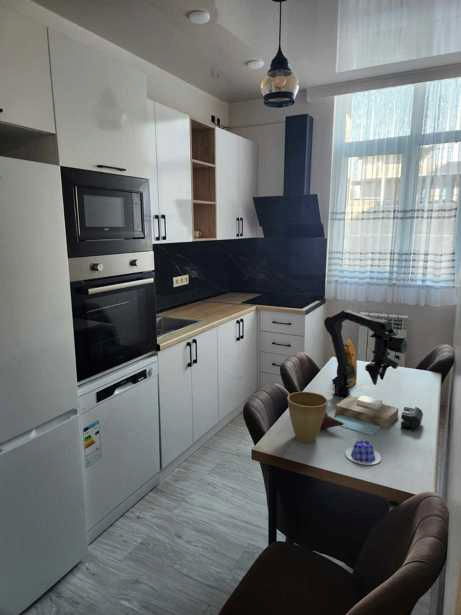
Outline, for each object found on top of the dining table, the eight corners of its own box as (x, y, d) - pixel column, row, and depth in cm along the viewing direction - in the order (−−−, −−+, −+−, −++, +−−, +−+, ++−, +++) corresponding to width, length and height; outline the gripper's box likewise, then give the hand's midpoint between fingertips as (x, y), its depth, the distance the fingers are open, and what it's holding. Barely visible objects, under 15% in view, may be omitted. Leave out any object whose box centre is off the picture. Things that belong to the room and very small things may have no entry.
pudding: (373, 447, 148) (374, 434, 147) (386, 466, 136) (387, 451, 135) (340, 448, 148) (341, 435, 147) (351, 467, 136) (352, 452, 135)
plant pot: (316, 451, 145) (318, 410, 142) (280, 440, 153) (280, 400, 151) (332, 435, 157) (333, 396, 154) (297, 425, 165) (298, 388, 163)
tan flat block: (335, 413, 176) (335, 405, 176) (349, 403, 187) (349, 395, 186) (386, 428, 162) (386, 419, 162) (397, 416, 173) (398, 408, 172)
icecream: (345, 413, 162) (309, 409, 169) (341, 416, 155) (303, 411, 162) (345, 431, 161) (309, 426, 168) (341, 434, 155) (303, 429, 162)
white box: (356, 403, 177) (357, 399, 176) (362, 399, 181) (362, 395, 181) (377, 409, 171) (377, 404, 171) (382, 404, 175) (382, 400, 175)
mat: (329, 422, 168) (329, 422, 168) (339, 415, 175) (339, 414, 175) (372, 436, 156) (372, 435, 156) (381, 427, 163) (381, 426, 163)
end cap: (419, 433, 158) (421, 417, 157) (400, 429, 162) (401, 413, 161) (422, 423, 167) (423, 408, 166) (403, 419, 170) (404, 404, 169)
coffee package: (334, 384, 211) (335, 343, 208) (339, 377, 222) (341, 338, 219) (353, 387, 207) (355, 345, 203) (358, 380, 218) (360, 340, 214)
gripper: (392, 357, 166) (389, 392, 169) (406, 347, 180) (403, 380, 183) (365, 351, 173) (363, 386, 176) (381, 343, 187) (379, 375, 190)
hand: (378, 382), depth 181 cm, fingers open, 8 cm apart
